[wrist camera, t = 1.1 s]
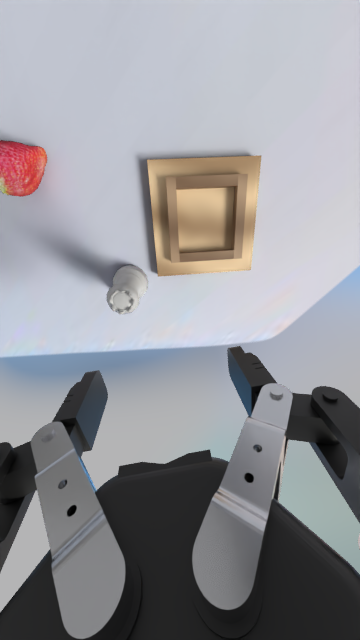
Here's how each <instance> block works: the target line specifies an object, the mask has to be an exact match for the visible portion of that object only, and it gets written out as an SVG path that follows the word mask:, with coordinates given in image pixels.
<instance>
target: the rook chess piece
mask: <svg viewBox="0 0 360 640" xmlns="http://www.w3.org/2000/svg"><path fill="white" fill-rule="evenodd" d="M147 288H148V279H147V276H146V274H145V273H144V272H143V271H142V269H140V268H138V267H136V266H131V265H127V266H124V267H121V268H120V269H119V270H118V271H116V274H115V276H114V278H113V286H112V287H111V288H110V289H109V291H108V293H107V302H108V305H109V306H110V307H111V309H112V310H113V311H116V312H118V313H119V314H127V313H131V312H133V311H134V310H135V309H136V308H137V306H138V305H139V298H141V297H142V296H143V295H144V294H145V292H146V290H147Z"/></svg>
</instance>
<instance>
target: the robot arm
mask: <svg viewBox="0 0 360 640" xmlns="http://www.w3.org/2000/svg"><path fill="white" fill-rule="evenodd" d="M227 351H228V366H229V373H230V377H231V379H232V381H233V383H234V386H235V388H236V390H237V392H238V394H239V396H240V398H241V401H242V403H243V405H244V407H245V409H246V411H247V413H248V415H249V416H248V417H247V418H246V421H245V423H244V426H243V428H242V431H241V433H240V436H239V438H238V441H237V444H236V446H235V449H234V451H233V454H232V456H231V459H230V462H228V461H225V460H223V459H219V458H214V457H211V453H210V450H205V451H199V452H194V453H189V454H186V455H184V456H182V457H179V458H177V459H175V460H173V461H171V462H169V463H166V464H156V463H147V462H140V463H134V464H129V465H123V466H119V472H118V475H117V476H115V477H113V478H112V479H110V480H108V481H107V482H106V483H104V484H103V485H102V486H101V487H100V488H99V489H98V490H96V488H95V486H94V484H93V482H92V480H91V478H90V476H89V474H88V472H87V470H86V467H85V465H84V463H83V461H82V459H81V456H82V453H83V452H85V451H90V450H92V447H93V444H94V440H95V437H96V434H97V431H98V428H99V425H100V421H101V418H102V415H103V412H104V409H105V405H106V402H107V398H108V394H107V389H106V386H105V383H104V381H103V378H102V375H101V373H100V371H92V372H86V373H85V374H84V376H83V378H82V380H81V382H78V383H76V384H75V385H74V386H73V387H72V388H71V389H70V391H69V393H68V395H67V397H66V398H65V400H64V403H63V404H62V405H61V407H60V409H59V411H58V412H57V414H56V416H55V418H54V420H53V421H52V423H49V424H47V425H45V426H44V427H42V428H41V429H39V430H38V431H37V432H36V433H35V435H34V436H33V438H32V440H31V441H30V442H27V443H25V444H23V445H20V446H18V447H16V448H13V447H12V446H11V445H10V444H9V443H7V442H4V443H0V572H1V569H2V567H3V564H4V562H5V560H6V558H7V555H8V553H9V551H10V548H11V546H12V544H13V541H14V539H15V537H16V534H17V532H18V530H19V527H20V525H21V523H22V521H23V518H24V516H25V514H26V511H27V509H28V507H29V504H30V502H31V500H32V497H33V495H34V493H35V490H37V491H38V496H39V500H40V505H41V509H42V513H43V518H44V522H45V527H46V531H47V536H48V540H49V544H50V550H49V551H48V553H47V554H46V555H45V556H44V558H43V559H42V560H41V562H40V563H39V564H38V565H37V567H36V568H35V569H34V570H33V572H32V573H31V574H30V576H29V577H28V578H27V579H26V581H25V582H24V583H23V584H22V586H21V587H20V588H19V590H18V591H17V592H16V593H15V595H14V596H13V597H12V599H11V600H10V601H9V602H8V604H7V605H6V606H5V607H4V609H3V610H2V611H1V612H0V640H360V574H359V573H358V572H357V571H356V570H355V569H354V568H353V567H352V566H351V565H350V564H349V563H348V562H347V561H346V560H345V559H344V558H343V557H341V556H340V555H339V554H338V553H337V552H336V551H334V550H333V549H332V548H331V547H330V546H329V545H327V544H326V543H325V542H324V541H323V540H322V539H320V538H319V537H318V536H317V535H316V534H315V533H314V532H312V531H311V530H310V529H309V528H308V527H307V526H305V525H304V524H303V523H302V522H301V521H300V520H298V519H297V518H296V517H295V516H294V515H293V514H292V513H290V512H289V511H288V510H287V509H286V508H285V507H283V506H282V505H281V504H280V503H279V497H280V490H281V484H282V483H281V482H282V476H283V470H284V464H285V458H286V452H287V447H288V441H289V439H290V440H297V441H305V442H309V443H310V444H311V446H312V448H313V449H314V451H315V452H316V454H317V456H318V457H319V459H320V460H321V462H322V464H323V465H324V467H325V468H326V470H327V472H328V473H329V475H330V476H331V478H332V480H333V481H334V483H335V484H336V486H337V488H338V489H339V490H340V492H341V494H342V496H343V497H344V499H345V500H346V502H347V504H348V505H349V507H350V508H351V510H352V512H353V513H354V515H355V516H356V518H357V519H358V521H359V522H360V408H359V407H357V406H356V405H355V404H354V403H353V402H352V401H351V400H350V399H349V398H348V397H347V396H346V395H345V394H344V393H342V392H341V391H339V390H337V389H335V388H331V387H326V386H320V387H317V388H315V389H314V390H313V391H312V395H308V394H296V393H292V392H291V391H290V390H289V389H288V388H287V387H285V386H283V385H281V384H277V382H276V381H275V380H274V379H273V377H272V376H271V375H270V373H269V372H268V371H267V369H266V368H265V367H264V365H263V364H262V363H261V361H260V360H259V359H258V357H257V356H255V355H253V354H252V353H244V351H243V350H242V348H241V347H240V346H237V347H232V348H228V350H227ZM358 544H359V549H360V534H359V538H358Z"/></svg>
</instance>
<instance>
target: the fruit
mask: <svg viewBox="0 0 360 640" xmlns="http://www.w3.org/2000/svg"><path fill="white" fill-rule="evenodd" d="M46 163H47V155H46V152H45V150H44V149H43V148H42V147H38V146H28V145H24V144H22V143H17V142H13V141H3V140H1V141H0V190H1V191H2V192H3V193H6V194H7V195H8V194H9V195H13V196H26V195H30V194H32V193H33V192H34V191H35V190H36V189H37V188H38V186H39V184H40V182H41V179H42V176H43V175H44V167H45V166H46Z"/></svg>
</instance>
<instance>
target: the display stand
mask: <svg viewBox="0 0 360 640" xmlns="http://www.w3.org/2000/svg"><path fill="white" fill-rule="evenodd" d="M147 164H148V175H149V185H150V196H151V207H152V217H153V228H154V239H155V249H156V260H157V271H158V276H171V275H185V274H200V273H214V272H229V271H243V270H251V262H252V251H253V240H254V229H255V218H256V208H257V197H258V186H259V175H260V164H261V156H237V157H210V158H182V159H155V160H147Z"/></svg>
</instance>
